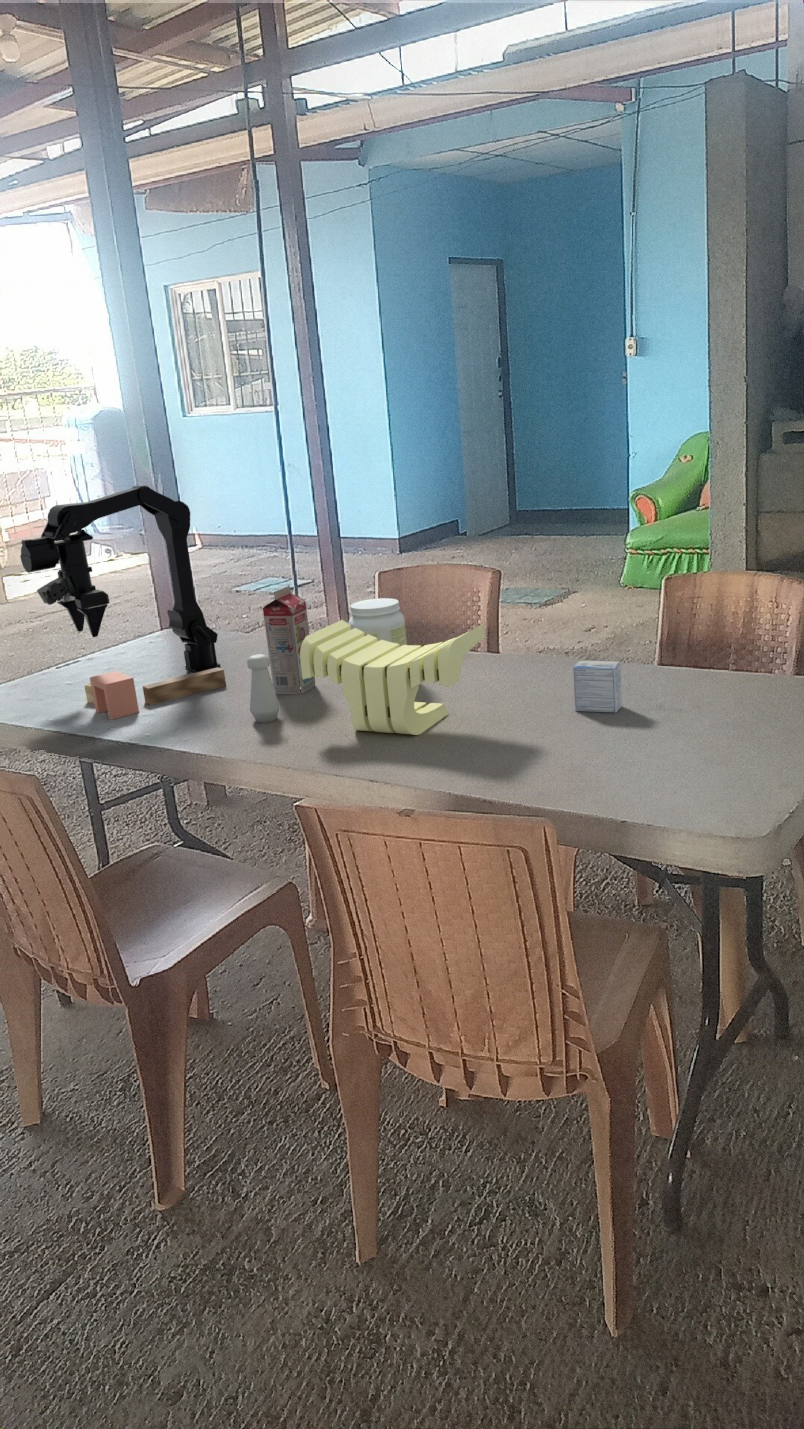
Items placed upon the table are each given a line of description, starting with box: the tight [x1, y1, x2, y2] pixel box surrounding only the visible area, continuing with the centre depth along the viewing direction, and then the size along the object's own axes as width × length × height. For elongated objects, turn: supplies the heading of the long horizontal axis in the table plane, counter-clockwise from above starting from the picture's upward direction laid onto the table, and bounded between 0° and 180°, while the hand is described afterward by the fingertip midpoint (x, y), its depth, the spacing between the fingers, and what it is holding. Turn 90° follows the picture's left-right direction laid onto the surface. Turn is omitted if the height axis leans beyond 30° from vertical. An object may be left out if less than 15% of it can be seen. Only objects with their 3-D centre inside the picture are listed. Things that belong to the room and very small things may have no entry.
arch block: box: [89, 670, 140, 720], centre depth 226 cm, size 6×9×8 cm, turn 36°
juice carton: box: [262, 585, 316, 695], centre depth 228 cm, size 7×7×22 cm
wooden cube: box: [84, 682, 94, 704], centre depth 237 cm, size 4×4×4 cm
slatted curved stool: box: [300, 619, 485, 736], centre depth 199 cm, size 30×16×18 cm, turn 63°
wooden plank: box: [142, 667, 227, 706], centre depth 235 cm, size 18×3×4 cm, turn 126°
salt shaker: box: [246, 653, 281, 724], centre depth 210 cm, size 6×6×13 cm
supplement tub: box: [347, 597, 408, 647], centre depth 230 cm, size 12×12×17 cm
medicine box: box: [572, 660, 623, 714], centre depth 198 cm, size 8×4×9 cm, turn 65°
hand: (87, 634), depth 237 cm, fingers open, 9 cm apart
